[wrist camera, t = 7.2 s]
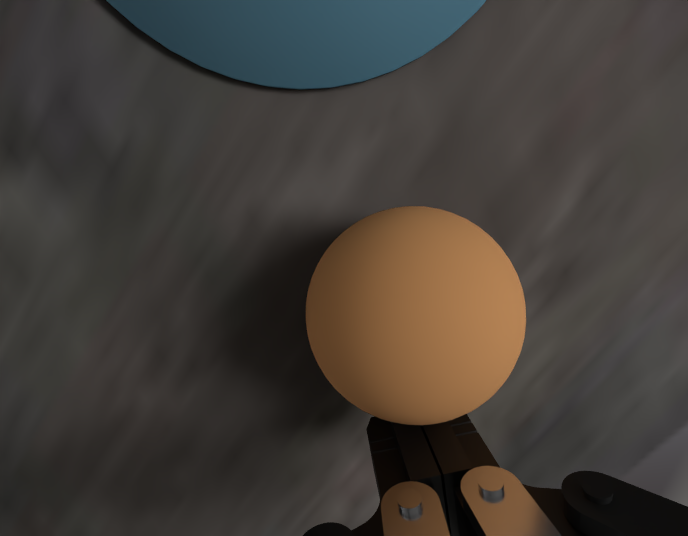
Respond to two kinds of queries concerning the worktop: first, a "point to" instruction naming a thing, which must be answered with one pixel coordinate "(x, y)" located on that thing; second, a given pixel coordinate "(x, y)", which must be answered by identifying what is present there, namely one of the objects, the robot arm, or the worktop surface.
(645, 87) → the worktop surface
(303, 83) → the disc
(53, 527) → the worktop surface
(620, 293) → the worktop surface
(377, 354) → the ball
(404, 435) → the robot arm
